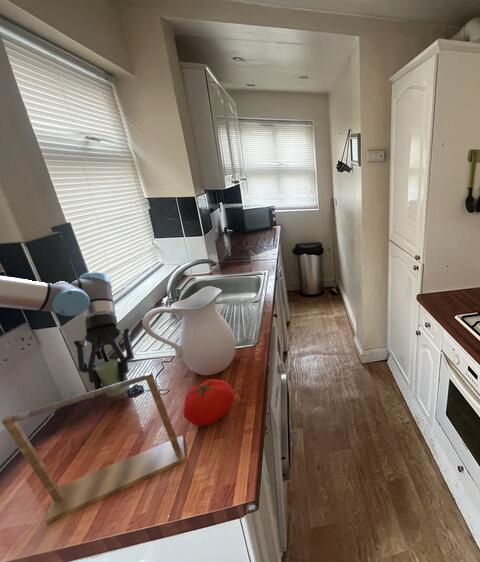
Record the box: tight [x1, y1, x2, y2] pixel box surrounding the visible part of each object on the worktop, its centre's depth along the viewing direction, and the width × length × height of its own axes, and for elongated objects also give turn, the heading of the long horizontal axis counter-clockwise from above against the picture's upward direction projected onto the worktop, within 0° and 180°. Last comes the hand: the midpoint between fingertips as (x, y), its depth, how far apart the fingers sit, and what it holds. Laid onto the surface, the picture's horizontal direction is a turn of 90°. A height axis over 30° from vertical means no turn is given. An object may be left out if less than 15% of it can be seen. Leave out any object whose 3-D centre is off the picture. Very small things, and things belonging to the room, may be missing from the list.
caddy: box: [95, 343, 129, 398], centre depth 93 cm, size 5×5×16 cm
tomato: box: [183, 378, 235, 427], centre depth 86 cm, size 13×12×11 cm
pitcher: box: [142, 285, 236, 376], centre depth 103 cm, size 24×17×28 cm
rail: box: [1, 371, 187, 525], centre depth 68 cm, size 25×8×25 cm, turn 123°
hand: (111, 387), depth 91 cm, fingers closed on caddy, 5 cm apart
